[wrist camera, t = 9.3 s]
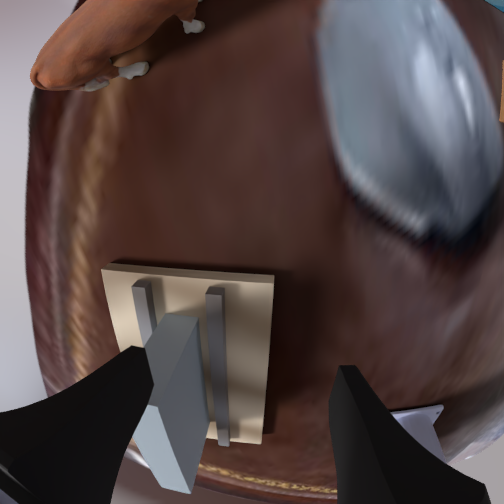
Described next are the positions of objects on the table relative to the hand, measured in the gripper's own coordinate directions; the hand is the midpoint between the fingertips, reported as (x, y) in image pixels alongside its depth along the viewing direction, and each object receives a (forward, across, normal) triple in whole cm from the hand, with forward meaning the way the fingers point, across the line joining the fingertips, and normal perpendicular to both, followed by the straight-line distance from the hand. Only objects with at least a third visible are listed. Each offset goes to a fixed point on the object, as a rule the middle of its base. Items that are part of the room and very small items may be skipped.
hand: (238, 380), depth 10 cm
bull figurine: (+10, +6, -16) cm, 20 cm away
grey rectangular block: (+8, +5, +9) cm, 13 cm away
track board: (+9, +5, +9) cm, 14 cm away
